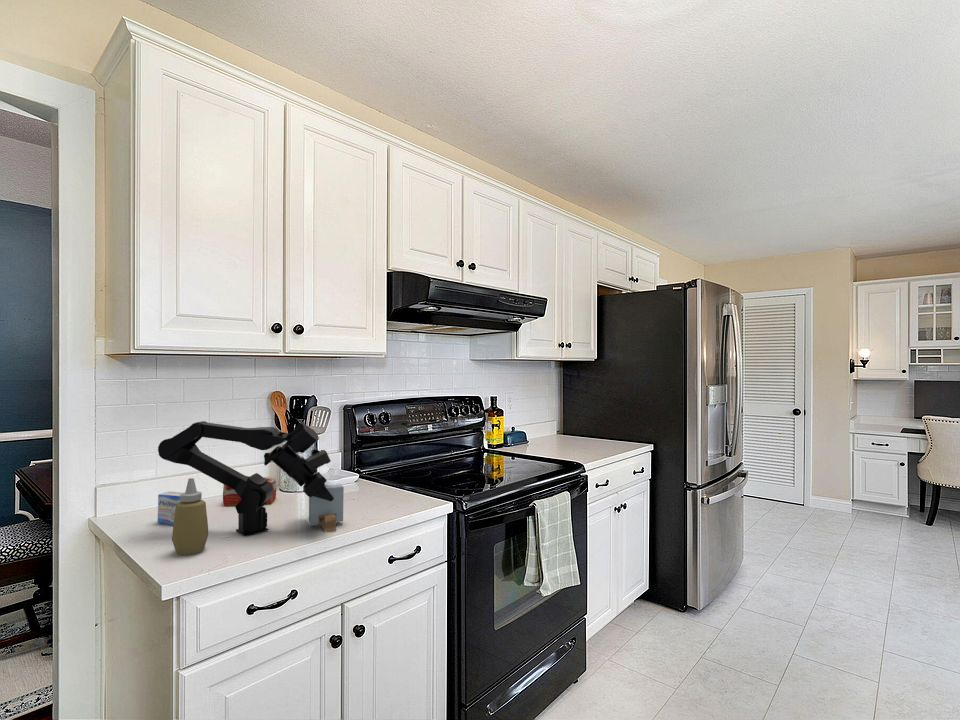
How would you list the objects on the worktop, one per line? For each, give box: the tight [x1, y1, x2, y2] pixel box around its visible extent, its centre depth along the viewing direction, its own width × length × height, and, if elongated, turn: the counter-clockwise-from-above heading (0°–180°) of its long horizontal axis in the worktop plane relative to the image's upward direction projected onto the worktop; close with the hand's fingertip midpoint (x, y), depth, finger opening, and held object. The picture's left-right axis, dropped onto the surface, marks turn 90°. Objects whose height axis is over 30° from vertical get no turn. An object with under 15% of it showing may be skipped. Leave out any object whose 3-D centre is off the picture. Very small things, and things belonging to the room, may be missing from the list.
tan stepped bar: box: [318, 514, 337, 533], centre depth 149 cm, size 12×3×4 cm, turn 28°
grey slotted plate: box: [308, 483, 345, 526], centre depth 149 cm, size 9×4×10 cm, turn 118°
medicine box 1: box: [157, 491, 183, 526], centre depth 150 cm, size 8×4×9 cm, turn 76°
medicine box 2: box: [222, 476, 277, 507], centre depth 173 cm, size 15×8×8 cm, turn 101°
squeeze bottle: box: [171, 477, 210, 556], centre depth 128 cm, size 8×8×18 cm
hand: (331, 498), depth 149 cm, fingers closed on grey slotted plate, 3 cm apart
